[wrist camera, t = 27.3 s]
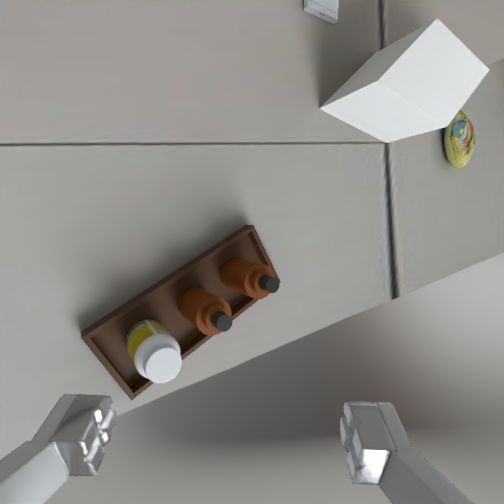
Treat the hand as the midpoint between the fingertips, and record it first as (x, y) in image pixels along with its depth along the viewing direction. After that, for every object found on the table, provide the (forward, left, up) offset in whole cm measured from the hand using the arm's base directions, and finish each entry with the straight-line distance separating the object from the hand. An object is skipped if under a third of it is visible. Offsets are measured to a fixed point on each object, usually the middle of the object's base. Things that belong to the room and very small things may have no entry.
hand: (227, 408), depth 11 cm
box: (+61, +34, -40) cm, 81 cm away
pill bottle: (+4, -12, -40) cm, 42 cm away
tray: (+12, -7, -40) cm, 43 cm away
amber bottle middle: (+12, -7, -40) cm, 42 cm away
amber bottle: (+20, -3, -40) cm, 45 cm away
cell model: (+92, +27, -40) cm, 104 cm away
